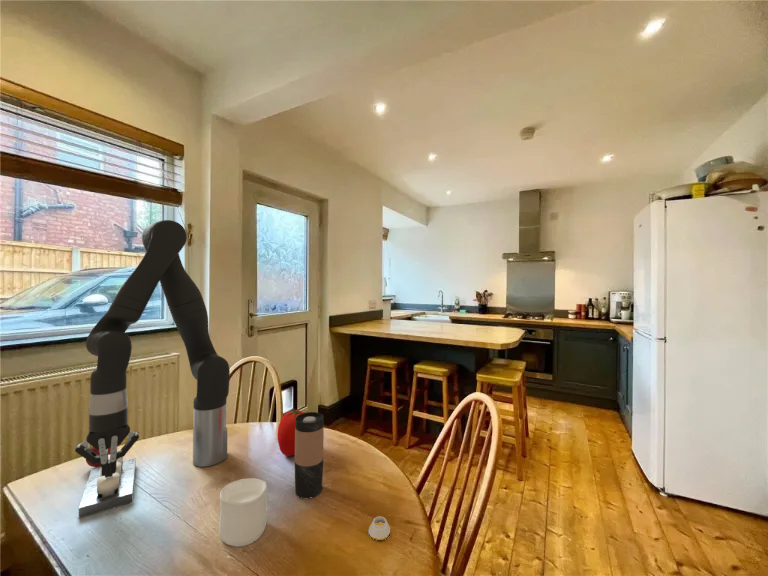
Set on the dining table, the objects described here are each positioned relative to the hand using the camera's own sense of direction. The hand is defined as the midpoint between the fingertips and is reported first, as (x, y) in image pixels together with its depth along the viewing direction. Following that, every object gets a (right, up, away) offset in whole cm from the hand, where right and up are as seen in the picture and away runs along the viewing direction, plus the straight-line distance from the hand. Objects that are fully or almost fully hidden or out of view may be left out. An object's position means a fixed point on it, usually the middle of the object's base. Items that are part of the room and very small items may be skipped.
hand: (108, 475), depth 83 cm
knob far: (-7, -6, +10) cm, 14 cm away
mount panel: (-4, -6, +5) cm, 9 cm away
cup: (+38, -8, -9) cm, 40 cm away
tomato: (+41, -7, +25) cm, 48 cm away
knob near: (0, -6, 0) cm, 6 cm away
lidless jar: (+69, -8, -9) cm, 70 cm away
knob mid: (-4, -6, +5) cm, 9 cm away
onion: (-16, -6, +15) cm, 23 cm away
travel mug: (+50, -8, +6) cm, 50 cm away
